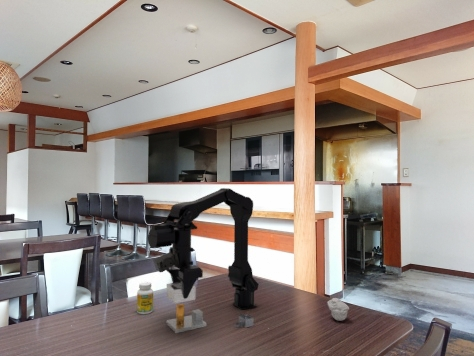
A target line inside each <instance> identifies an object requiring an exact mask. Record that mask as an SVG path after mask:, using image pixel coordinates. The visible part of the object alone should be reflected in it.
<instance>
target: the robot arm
mask: <svg viewBox="0 0 474 356" xmlns="http://www.w3.org/2000/svg"><path fill="white" fill-rule="evenodd" d="M222 203H224V204H225V205H227V206H228V207H229V209H230V210H229V211H230V215H231V217H232V219H233V221H234V222H233V223H234V226H233V227H234V228H233V229H234V230H233V232H234V233H233V236H234V238H233V239H234V240H233V241H234V243H233V245H234V250H233V252H234V253H233V257H234V258H233V259H234V260H233V262H232V264H231V265H228V266H227V268H228V271H227V272H228V274H227V277H228V279H229V282H230V283H231V287H232V288H235V290H234V291H235V292H234V293H233V302H232V305H234V306H235V307H237V308H238V309H240V310H246V309H252V308H256V307H257V304H255V291H258V287H259V286H260V285H259V283H258V282H257V280H255V278H254V276H253V274H254V273H253V269H252V266H251V264H250V263H249V221H250V219H251V217H252V216H253V211H254V210H253V209H254V201H253V200H252V199H251V197H249V196H245V195H244V194H241V193H238V192H236V191H234V189H232V188H225V187H223V188H220V189H219V190H216V191H214V192H211V193H209V194H207V195H205V196H202V197H200V198H198V199H197V198H196V199H195V200H192V201H183V202H180V203H179V202H177V203H175V204H173V205H172V206H171V207H170V211H169V213H168V215H167V217H166V218H165V219H164V221H163V223H161V224H151V229H150V230H149V231H148V235H147V242H148V246H149V247H150V248H151V249H156V248H157V249H158V248H164V247H166V248H167V247H169V248H168V253H164V254H162V255H160V256H158V257H156V258H154V259H153V261H152V262H153V264H154V267H155V269H156V271H158V273H163V272H165V271H166V272H167V273H169V275H170V278H171V281H172V282H171V283H176V282H182V290H183V297H184V299H185V298H188V296H189V293H190V291H191V289H192V287H193V285H194V286H195V284H196V281H197V280H199V279H200V278H203V277H204V276H203V275H204V273H203V272H204V271H203V269H202V268H201V267H200V266H198V265H196V264H194V261H193V260H192V252H194V248H193V247H192V230H197V229H198V226H197V225H195V223H193V221H195V220H196V219H197V218H198V217H199V216H200V214H202V213H203V212H206V211H208V210H209V209H211V208H214V207H216V206H218V205H220V204H222Z"/></svg>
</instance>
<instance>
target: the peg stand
mask: <svg viewBox="0 0 474 356" xmlns="http://www.w3.org/2000/svg"><path fill="white" fill-rule="evenodd" d="M203 316H204V313H203V311H202V310H201V309H199V308H198V309H193V310H191V314H190V315H186V316H185V304H184V303H176V314H175V317H176V318H172V319H170V318H169V319H167V320H166V321H165V323H166V325H167V326H168V327H169V328H170V329H171V330H172V331H173V332H174V333H175V334H178V333H183V332H189V331H191V330H195V329H200V328H204V327H207V322H206V321H204V320H203V319H204V318H203Z"/></svg>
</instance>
